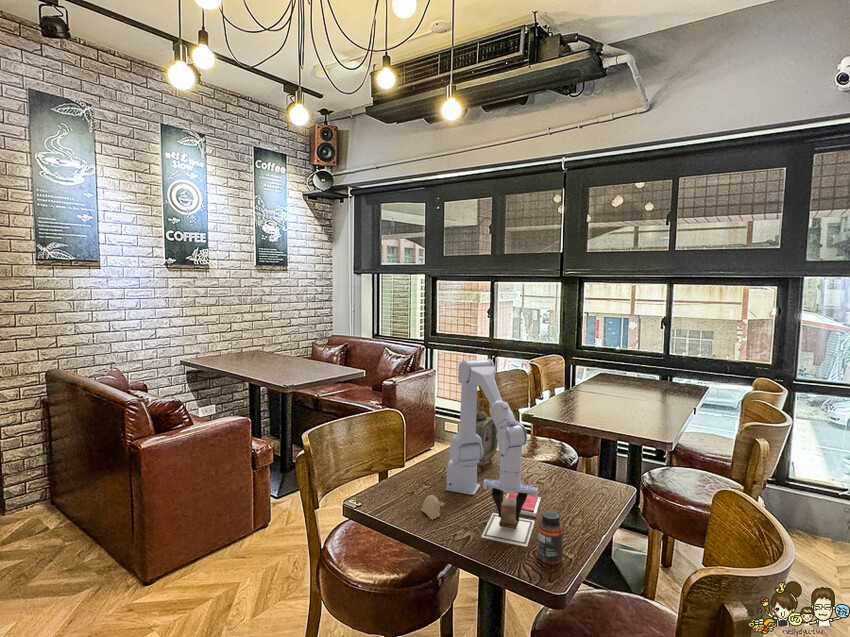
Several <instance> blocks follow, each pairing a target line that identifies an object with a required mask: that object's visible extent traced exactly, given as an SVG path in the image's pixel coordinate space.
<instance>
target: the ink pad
mask: <svg viewBox="0 0 850 637" xmlns="http://www.w3.org/2000/svg"><path fill="white" fill-rule="evenodd" d="M506 494H507V495H506V497H505V498H506V499H511V500H516V497H517V495H518V493H513V492H512V493H506ZM541 501H542V497H541V496H538V495H537V498H536V497H533V496H530V495H527V498H526V501H525V502H524V504H523V506H522V509H521V512H520V516H526V517H533V518H537V515H538V512H539V508H540V505H541Z"/></svg>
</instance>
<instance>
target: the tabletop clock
mask: <svg viewBox="0 0 850 637" xmlns="http://www.w3.org/2000/svg"><path fill="white" fill-rule="evenodd" d="M481 401H482V403H483V404H482V406H478V405H479V403H480V402H481ZM477 406H478V407H477V408H476V434H477V435H478V436H480V438H481V439H482V447H483V456H482V458H481V459H480V460H479V463H477V474H478V473H479V474H480V472H481V470H482V469H481V467H480V465H479V464H480V463H486V462H489V463H490V464H491V463H494V459H493V457H494V456H495V455H496V453H497V448H498V441H497V432H498V430H497V428H496V426H495V423H494V421H493V419H492V417H491V416H487V413H486V412H485V411H482V410H483V409H484V407H485V399H484V398H479V399H477Z"/></svg>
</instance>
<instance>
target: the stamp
mask: <svg viewBox="0 0 850 637" xmlns="http://www.w3.org/2000/svg"><path fill="white" fill-rule="evenodd" d="M516 510H517V507H516V500H511V499H506V497H505V498H504V497H503V501H502V504H501V520H500V522H499V526H501V527H506V528H511V529H516V528H517V526H518V523H519V521H517V520H516Z"/></svg>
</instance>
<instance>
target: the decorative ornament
mask: <svg viewBox="0 0 850 637" xmlns="http://www.w3.org/2000/svg"><path fill="white" fill-rule="evenodd" d="M444 505H445V503H444V502H442V501H441V502H440V499H439V498H438V497H437V496H436V495H433V494H430V495H427V496H426V498H425V499H424V500H423V503H422V507H421V509H420V511H421V512H422V513H424V514H426V516H428V518H429V519H430V520H431V519H432V520H431V521H433V519H434V520H435V519H437V518H439V517H440V516H441V514H440V509H441V507H443V506H444Z"/></svg>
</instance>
